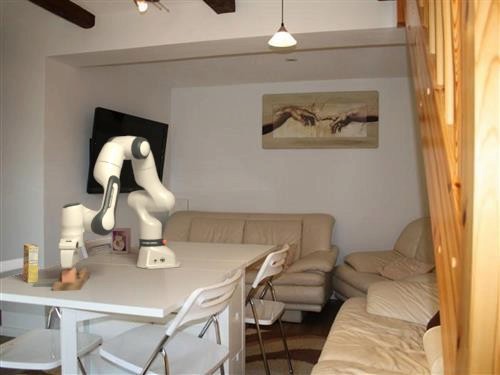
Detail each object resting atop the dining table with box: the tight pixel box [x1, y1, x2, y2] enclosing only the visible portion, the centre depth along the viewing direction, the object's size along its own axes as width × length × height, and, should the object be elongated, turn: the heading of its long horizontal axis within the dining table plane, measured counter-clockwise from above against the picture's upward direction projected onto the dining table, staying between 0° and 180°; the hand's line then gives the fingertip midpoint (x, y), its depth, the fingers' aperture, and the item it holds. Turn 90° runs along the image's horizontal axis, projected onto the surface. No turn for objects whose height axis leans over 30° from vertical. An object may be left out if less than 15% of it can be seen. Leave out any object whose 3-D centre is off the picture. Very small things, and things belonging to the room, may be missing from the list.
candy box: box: [22, 243, 40, 284], centre depth 184 cm, size 9×4×15 cm, turn 41°
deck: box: [52, 265, 91, 292], centre depth 180 cm, size 10×24×6 cm, turn 12°
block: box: [61, 268, 77, 282], centre depth 173 cm, size 4×4×4 cm
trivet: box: [32, 277, 59, 288], centre depth 179 cm, size 9×9×1 cm
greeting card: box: [111, 227, 132, 255], centre depth 264 cm, size 11×7×15 cm, turn 73°
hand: (71, 275), depth 178 cm, fingers closed
